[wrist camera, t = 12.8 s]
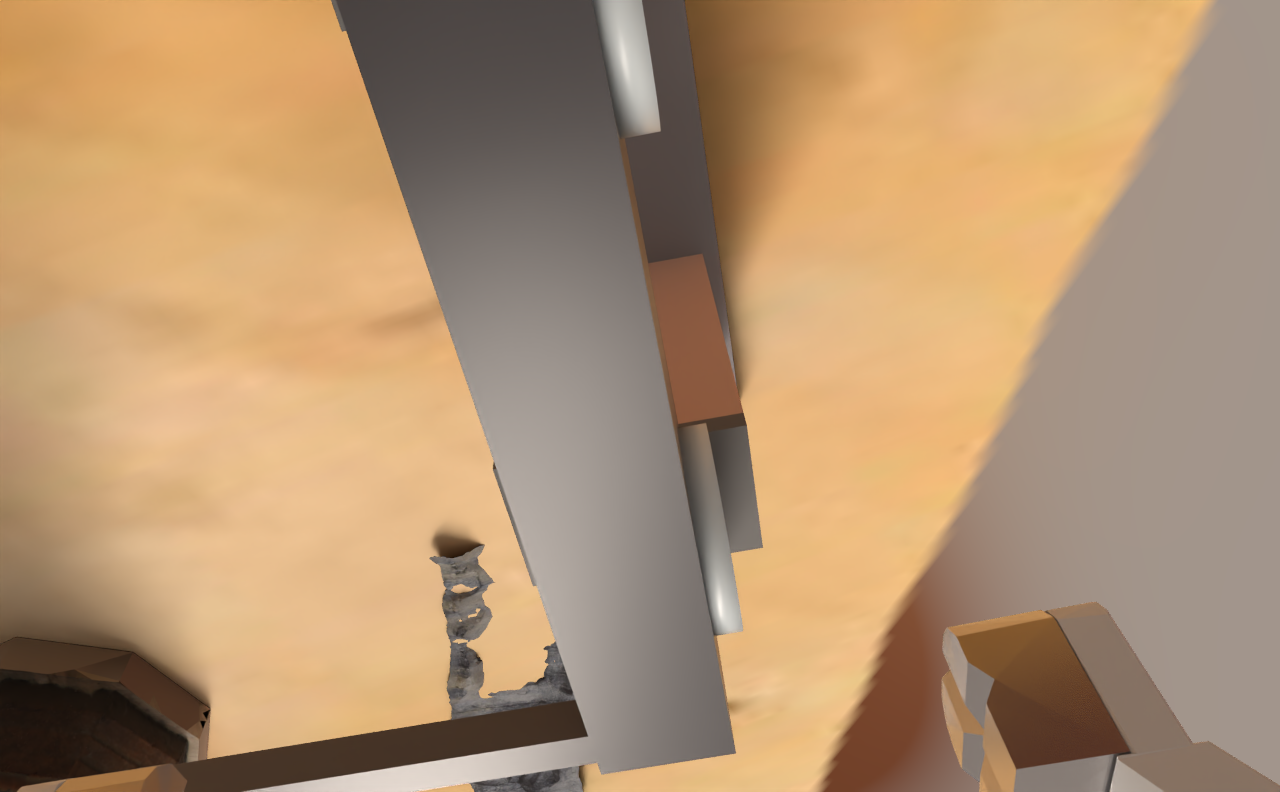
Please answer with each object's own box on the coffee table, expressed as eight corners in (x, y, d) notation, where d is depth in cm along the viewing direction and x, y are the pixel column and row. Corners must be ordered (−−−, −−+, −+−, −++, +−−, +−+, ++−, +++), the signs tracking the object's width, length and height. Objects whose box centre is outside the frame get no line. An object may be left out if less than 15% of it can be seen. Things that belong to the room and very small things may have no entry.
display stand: (547, 440, 34) (540, 663, 26) (296, -414, 20) (113, -517, 12) (737, 407, 34) (791, 622, 26) (614, -485, 20) (646, -640, 12)
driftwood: (586, 823, 50) (587, 863, 48) (455, 826, 49) (451, 866, 47) (608, 530, 38) (610, 567, 36) (436, 528, 37) (429, 566, 36)
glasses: (231, 663, 25) (166, 842, 21) (-348, -207, 14) (-741, -183, 10) (730, 580, 24) (762, 749, 20) (567, -408, 13) (565, -476, 9)
